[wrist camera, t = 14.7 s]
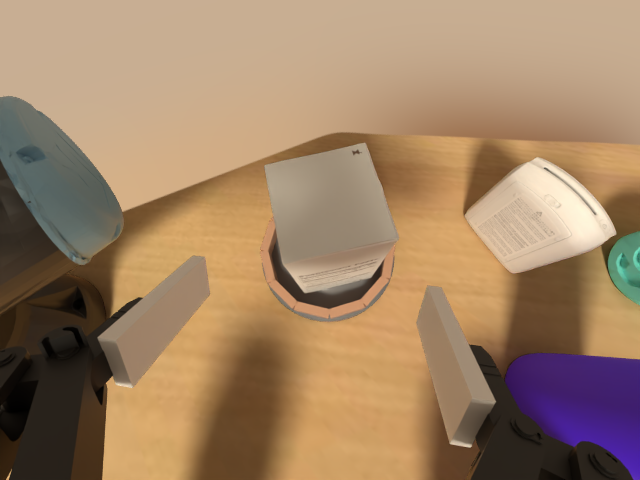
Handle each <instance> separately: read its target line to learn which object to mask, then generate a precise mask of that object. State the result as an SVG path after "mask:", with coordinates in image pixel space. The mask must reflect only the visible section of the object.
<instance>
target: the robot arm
mask: <svg viewBox="0 0 640 480" xmlns="http://www.w3.org/2000/svg"><path fill="white" fill-rule="evenodd" d="M123 227H124V217H123V213H122V210H121V207H120V205H119V203H118V201H117V199H116V197H115V195H114V193H113V192H112V190H111V189H110V187H109V185H108V184H107V182H106V181H105V180H104V178H103V177H102V175H101V174H100V173H99V171H98V170H97V169H96V167H95V166H94V165H93V164H92V162H91V161H90V160H89V159H88V158H87V156H86V155H85V154H84V153H83V152H82V151H81V150H80V148H78V146H77V145H76V144H75V143H74V142H73V141H72V140H71V139H70V138H69V137H68V136H67V135H66V134H65V133H64V132H63V131H62V130H61V129H60V128H59V127H58V126H57V125H56V124H55V123H54V122H53V121H52V120H50V119H49V118H48V117H47V116H45V115H44V114H43V113H42V112H40V111H37V110H36V109H35V108H34V107H33V106H32V105H30V104H29V103H27V102H26V101H24V100H22V99H20V98H17V97H12V96H6V97H0V480H6V478H7V477H8V475H9V473H10V471H11V469H12V471H11V474H10V478H9V480H102V473H103V455H104V438H105V421H106V404H107V385H106V382H107V381H108V380H109V379H110V378H111V377H112V376H113V378H114V381H115V383H116V385H119V386H125V387H130V388H133V387H134V386H135V385H136V383H137V382H138V381H139V380H140V379H141V377H142V376H143V375H144V374H145V372H146V371H147V370H148V369H149V368H150V366H151V365H152V364H153V363H154V362H155V360H156V359H157V358H158V357H159V355H160V354H161V353H162V352H163V351H164V349H165V348H166V347H167V346H168V345H169V343H170V342H171V341H172V340H173V338H174V337H175V336H176V335H177V334H178V332H179V331H180V330H181V329H182V328H183V326H184V325H185V324H186V323H187V321H188V320H189V319H190V318H191V317H192V315H193V314H194V313H195V312H196V310H197V309H198V308H199V307H200V306H201V304H202V303H203V302H204V301H205V300H206V298H207V297H208V296H209V295H210V290H209V283H208V275H207V268H206V261H205V257H201V256H192V257H191V258H190V259H188V260H187V261H186V262H185V263H184V264H183V265H181V266H180V267H179V268H178V269H177V270H176V271H174V272H173V273H172V274H171V275H170V276H169V277H167V278H166V279H165V280H164V281H163V282H162V283H160V284H159V285H158V286H157V287H156V288H155V289H153V290H152V291H151V292H150V293H149V294H148V295H146V296H145V297H144V298H140V297H139V298H137V299H135V300H133V301H131V302H129V303H127V304H126V305H124V306H123V307H122V308H121V309H120V310H118V312H116V313H115V314H113V315H112V316H111V318H109V319H107V320H106V321H105V308H104V303H103V300H102V298H101V296H100V294H99V292H98V291H97V289H96V288H95V287H94V286H93V285H92V284H91V283H90V282H88V281H87V280H85V279H83V278H80V277H77V276H73V275H68V274H66V273H68V272H69V271H71V270H72V269H74V268H75V267H77V266H78V265H85V264H87V263H88V262H90V261H91V259H92V257H93V256H94V255H95V254H97V253H98V252H100V251H101V250H102V249H104V248H105V247H107V246H108V245H109V244H111V243H112V242H114V241H115V240H116V239H117V238H118V237H119V236H120V235H121V233H122V230H123ZM416 324H417V327H418V331H419V334H420V338H421V342H422V345H423V349H424V352H425V356H426V360H427V363H428V367H429V371H430V374H431V378H432V381H433V385H434V389H435V392H436V396H437V399H438V403H439V407H440V410H441V414H442V418H443V421H444V425H445V428H446V432H447V436H448V439H449V443H450V444H452V445H458V446H464V447H469V448H471V446H472V444H473V442H474V441H475V439H476V441H477V444H478V447H479V449H480V452H479V453H478V455H477V457H476V458H475V460H474V462H473V464H472V465H471V466H472V467H471V469H470V471H469V473H468V475H467V478H466V480H633V478H632V476H631V474H630V472H629V470H628V469H627V468H626V467H625V466H624V465H623V463H622V462H621V461H620V460H619V459H618V458H616V457H615V456H614V455H613V454H612V453H611V452H609V451H608V450H606V449H604V448H603V447H601V446H600V445H597V444H595V443H592V442H589V441H581V442H579V443H578V444H577V445H576V446H575V447H573V446H571V445H568V444H566V443H564V442H562V441H559V440H557V439H555V438H553V437H550V436H548V435H547V434H545V433H544V432H543V430H542V429H541V428H540V427H539V425H538V424H537V423H536V422H535V421H534V420H532V419H531V418H530V417H529V416H527V415H525V414H523V413H522V412H521V411H520V409H519V407H518V405H517V403H516V401H515V400H514V398H513V396H512V394H511V392H510V390H509V389H508V387H507V385H506V383H505V381H504V379H503V378H502V377H501V374H500V372H499V370H498V369H497V368H496V365H495V363H494V361H493V359H492V357H491V356H490V355H489V354H488V353H487V352H486V351H485V350H484V349H483V348H482V347H481V346H476V345H469V344H468V342H467V340H466V338H465V336H464V334H463V332H462V330H461V327H460V325H459V323H458V321H457V319H456V317H455V315H454V313H453V311H452V309H451V307H450V304H449V302H448V300H447V298H446V296H445V294H444V292H443V290H442V288H441V287H436V286H428V285H427V288H426V292H425V295H424V298H423V302H422V305H421V309H420V312H419V315H418V319H417V322H416Z"/></svg>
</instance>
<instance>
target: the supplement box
mask: <svg viewBox="0 0 640 480" xmlns="http://www.w3.org/2000/svg"><path fill="white" fill-rule="evenodd" d="M264 168H265V174H266V179H267V185H268V190H269V196H270V201H271V206H272V212H273V217H274V222H275V228H276V233H277V238H278V243H279V249H280V254H281V259H282V263H283V265H284V267H285V268H286V269H287V270H288V272H289V273H290V274H291V276H292V277H293V278H294V280H295V281H296V283H297V284H298V285H299V287H300V288H301V289H302V291H303V292H304V293H311V292H315V291H319V290H323V289H327V288H331V287H335V286H339V285H344V284H348V283H352V282H356V281H360V280H364V279H368V278H371V277H372V276H373V274H374V273H375V271H376V270H377V269H378V267H379V266H380V264H381V263H382V261H383V260H384V259H385V257H386V256H387V254H388V253H389V251H390V250H391V249H392V247H393V246H394V244H395V243H396V242H397V241H398V240H399V236H398V233H397V230H396V227H395V224H394V221H393V219H392V216H391V213H390V210H389V207H388V204H387V201H386V199H385V196H384V192H383V188H382V185H381V183H380V181H379V179H378V176H377V173H376V170H375V168H374V165H373V162H372V159H371V156H370V153H369V150H368V148H367V145H366V143H360V144H356V145H352V146H348V147H344V148H340V149H335V150H331V151H326V152H322V153H317V154H313V155H308V156H303V157H298V158H293V159H288V160H283V161H279V162H275V163H271V164H267V165H265V166H264Z"/></svg>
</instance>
